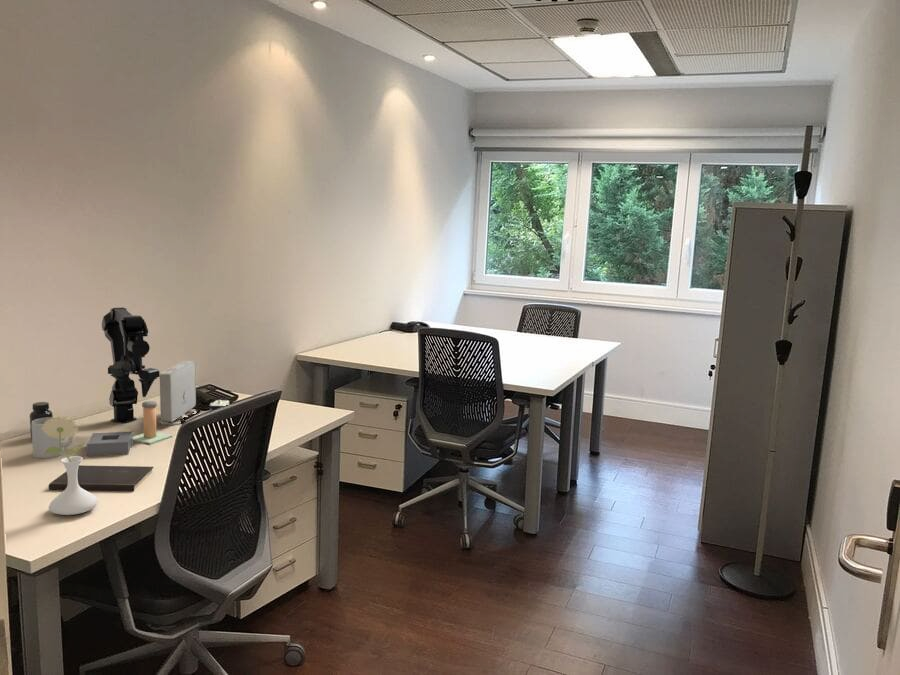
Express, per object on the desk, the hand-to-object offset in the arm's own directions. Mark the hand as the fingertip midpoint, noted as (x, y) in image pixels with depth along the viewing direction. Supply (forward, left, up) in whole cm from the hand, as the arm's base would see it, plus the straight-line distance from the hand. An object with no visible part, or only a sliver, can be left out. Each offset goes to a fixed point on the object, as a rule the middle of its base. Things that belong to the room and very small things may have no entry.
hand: (134, 395), depth 255 cm
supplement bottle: (-20, -21, -13) cm, 32 cm away
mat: (+11, -4, -13) cm, 17 cm away
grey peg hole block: (+9, -19, -13) cm, 25 cm away
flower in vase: (+40, -60, -13) cm, 73 cm away
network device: (0, +21, -13) cm, 25 cm away
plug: (+11, -4, -12) cm, 17 cm away
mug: (-2, -31, -13) cm, 34 cm away
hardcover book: (+30, -41, -14) cm, 52 cm away
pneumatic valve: (+26, +13, -13) cm, 32 cm away
